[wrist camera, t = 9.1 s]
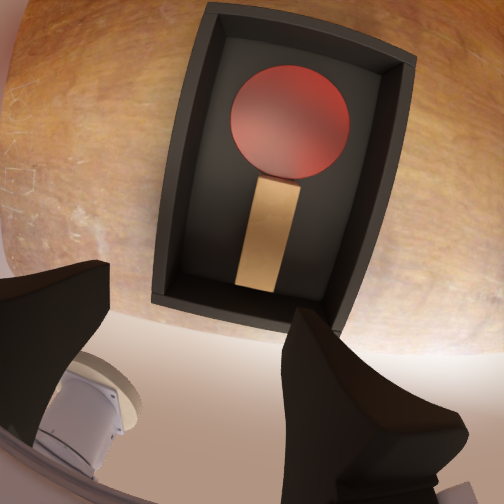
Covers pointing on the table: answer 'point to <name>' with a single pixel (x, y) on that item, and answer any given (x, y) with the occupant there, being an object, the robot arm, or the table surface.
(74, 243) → the table surface
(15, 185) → the table surface
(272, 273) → the paddle
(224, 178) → the bin
